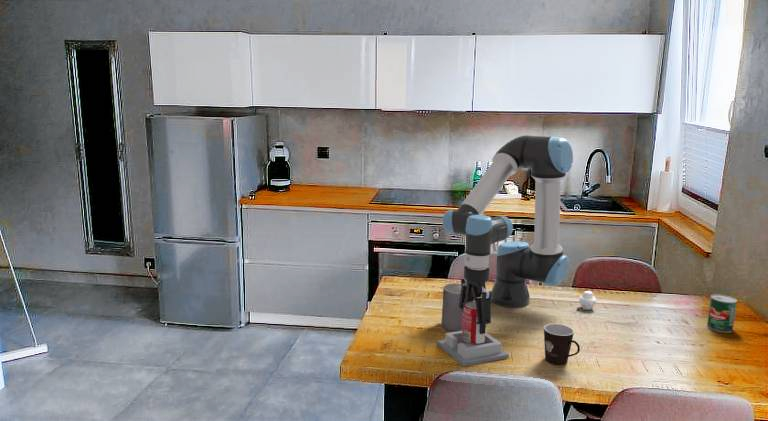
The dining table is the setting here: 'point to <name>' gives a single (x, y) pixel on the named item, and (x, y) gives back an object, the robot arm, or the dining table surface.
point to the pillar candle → (452, 307)
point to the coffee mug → (558, 343)
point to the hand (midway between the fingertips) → (473, 337)
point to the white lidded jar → (587, 300)
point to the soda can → (469, 323)
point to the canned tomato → (721, 313)
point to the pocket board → (472, 349)
